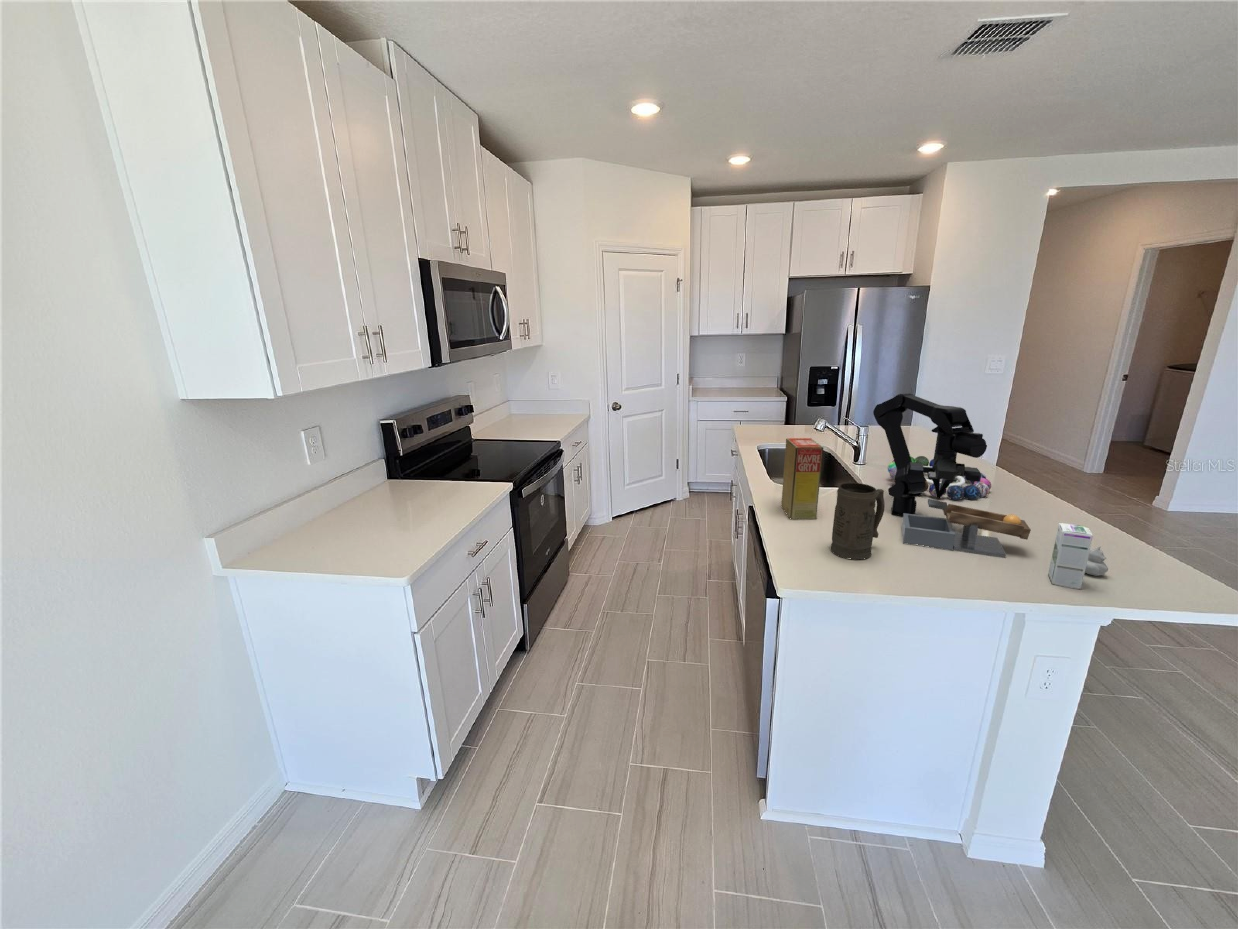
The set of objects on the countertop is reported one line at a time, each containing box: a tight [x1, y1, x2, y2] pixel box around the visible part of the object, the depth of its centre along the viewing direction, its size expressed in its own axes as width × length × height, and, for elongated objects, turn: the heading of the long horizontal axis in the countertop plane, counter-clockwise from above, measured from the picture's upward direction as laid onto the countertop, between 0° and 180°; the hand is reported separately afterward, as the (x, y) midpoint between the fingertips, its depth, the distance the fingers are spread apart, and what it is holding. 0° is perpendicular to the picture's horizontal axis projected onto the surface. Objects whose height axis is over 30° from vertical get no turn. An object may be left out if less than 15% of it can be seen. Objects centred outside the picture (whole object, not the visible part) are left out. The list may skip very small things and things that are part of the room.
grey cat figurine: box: [1085, 545, 1109, 577], centre depth 128 cm, size 5×7×8 cm
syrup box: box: [1047, 522, 1094, 590], centre depth 124 cm, size 6×6×14 cm
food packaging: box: [780, 437, 824, 520], centre depth 171 cm, size 13×9×25 cm
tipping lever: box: [927, 498, 1032, 540], centre depth 148 cm, size 23×16×4 cm
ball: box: [1003, 514, 1022, 525], centre depth 141 cm, size 4×4×4 cm
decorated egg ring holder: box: [887, 455, 992, 501], centre depth 195 cm, size 35×35×9 cm
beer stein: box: [830, 482, 885, 560], centre depth 143 cm, size 15×11×20 cm
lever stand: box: [953, 524, 1007, 559], centre depth 145 cm, size 12×12×8 cm
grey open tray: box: [900, 513, 956, 551], centre depth 151 cm, size 12×12×5 cm
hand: (938, 497), depth 156 cm, fingers closed
